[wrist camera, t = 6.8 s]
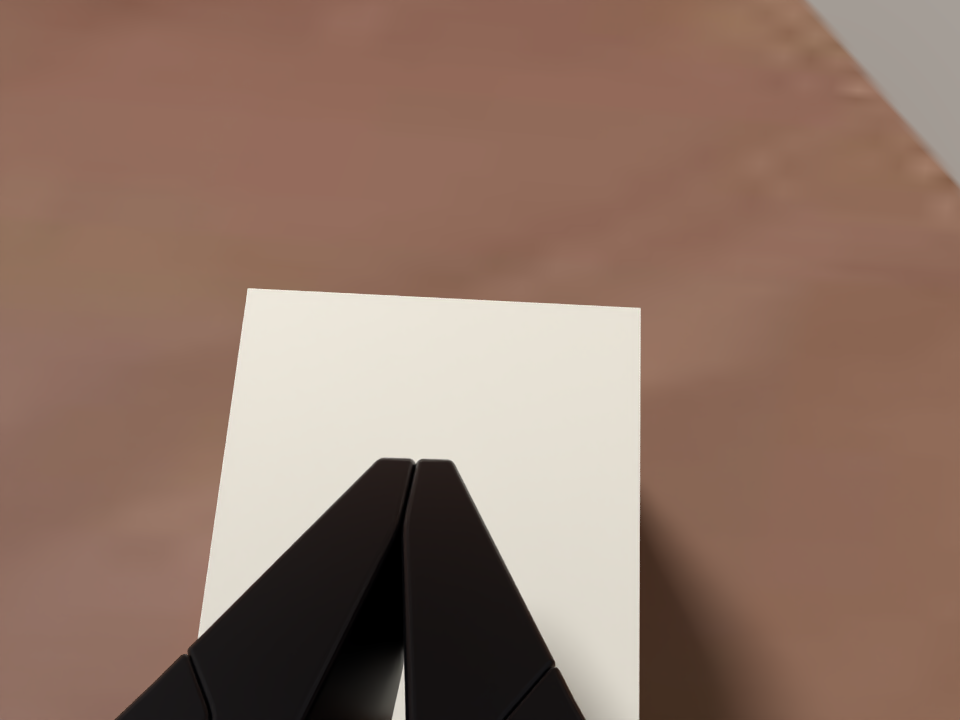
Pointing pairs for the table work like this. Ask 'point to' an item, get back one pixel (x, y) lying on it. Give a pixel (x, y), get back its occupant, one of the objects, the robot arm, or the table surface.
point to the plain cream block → (452, 450)
